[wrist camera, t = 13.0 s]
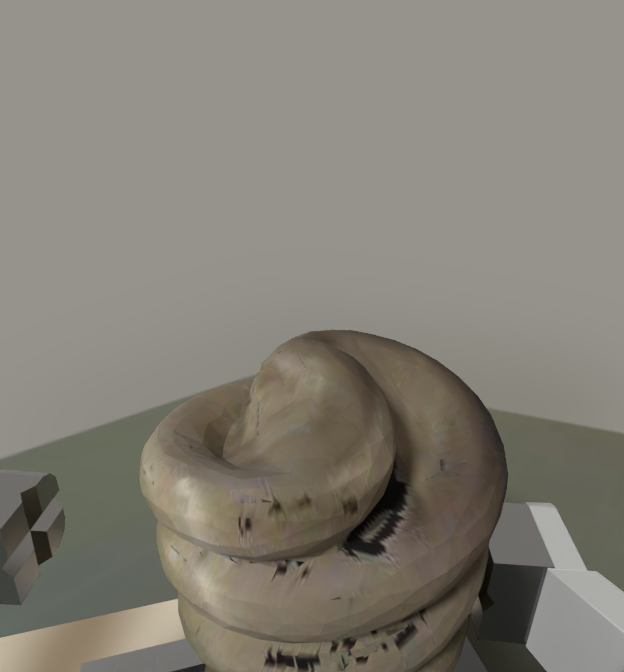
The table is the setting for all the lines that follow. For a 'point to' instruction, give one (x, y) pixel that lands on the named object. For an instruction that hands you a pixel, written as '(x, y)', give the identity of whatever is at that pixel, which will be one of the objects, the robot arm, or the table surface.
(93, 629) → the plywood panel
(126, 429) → the table surface
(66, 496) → the table surface
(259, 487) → the light bulb
